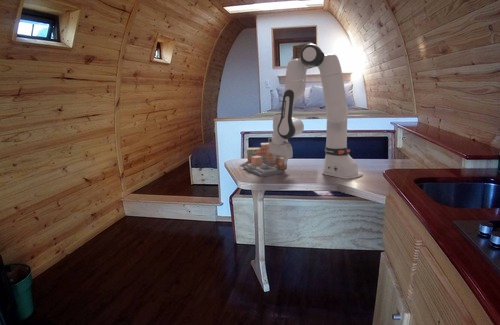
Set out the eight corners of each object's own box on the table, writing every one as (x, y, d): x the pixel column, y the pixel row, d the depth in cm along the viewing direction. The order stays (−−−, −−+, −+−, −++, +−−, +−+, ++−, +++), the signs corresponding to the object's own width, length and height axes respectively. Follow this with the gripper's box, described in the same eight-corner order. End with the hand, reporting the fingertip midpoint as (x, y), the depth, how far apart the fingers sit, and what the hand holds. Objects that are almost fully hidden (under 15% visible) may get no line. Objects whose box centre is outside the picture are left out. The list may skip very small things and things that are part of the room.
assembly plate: (281, 173, 178) (281, 160, 176) (262, 176, 172) (261, 163, 170) (261, 165, 197) (261, 153, 195) (243, 168, 191) (242, 156, 189)
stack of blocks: (247, 163, 204) (246, 144, 201) (247, 161, 210) (247, 143, 207) (280, 162, 203) (280, 143, 200) (279, 160, 209) (279, 142, 206)
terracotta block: (286, 168, 189) (286, 158, 187) (280, 169, 186) (279, 159, 185) (282, 166, 193) (282, 157, 192) (275, 167, 191) (275, 158, 189)
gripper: (295, 142, 178) (295, 165, 181) (275, 137, 196) (275, 159, 199) (286, 143, 175) (286, 167, 178) (266, 138, 193) (266, 160, 196)
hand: (280, 162), depth 189 cm, fingers open, 8 cm apart
